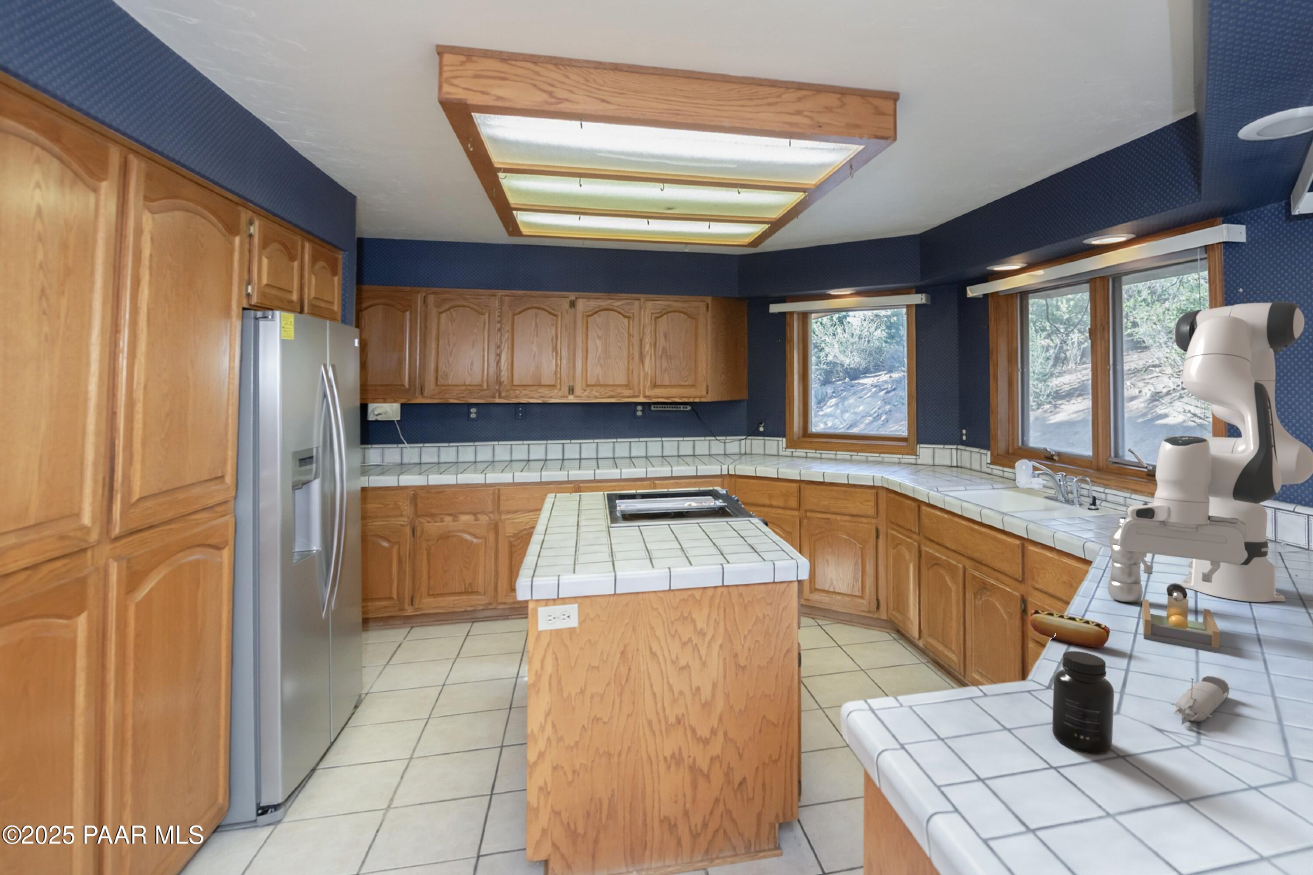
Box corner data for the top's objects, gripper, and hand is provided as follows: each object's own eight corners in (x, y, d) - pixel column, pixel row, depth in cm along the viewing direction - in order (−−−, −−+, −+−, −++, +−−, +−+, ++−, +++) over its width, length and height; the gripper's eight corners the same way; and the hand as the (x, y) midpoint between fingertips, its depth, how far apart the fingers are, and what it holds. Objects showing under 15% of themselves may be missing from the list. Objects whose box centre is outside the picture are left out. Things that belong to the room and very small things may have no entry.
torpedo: (1197, 689, 99) (1199, 650, 98) (1236, 701, 95) (1238, 660, 95) (1161, 722, 88) (1163, 679, 88) (1203, 736, 85) (1206, 692, 84)
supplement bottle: (1052, 723, 88) (1055, 643, 87) (1110, 738, 84) (1114, 654, 83) (1050, 745, 82) (1054, 659, 81) (1113, 762, 78) (1117, 672, 77)
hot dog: (1106, 655, 112) (1107, 629, 112) (1025, 635, 122) (1026, 611, 121) (1111, 648, 115) (1112, 622, 115) (1033, 629, 125) (1034, 605, 125)
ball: (1167, 626, 124) (1168, 611, 124) (1187, 629, 122) (1187, 615, 122) (1168, 630, 122) (1169, 615, 121) (1188, 633, 120) (1189, 619, 120)
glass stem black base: (1165, 613, 130) (1166, 582, 129) (1184, 616, 128) (1186, 584, 127) (1166, 621, 125) (1168, 588, 124) (1187, 625, 123) (1189, 591, 123)
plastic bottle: (1148, 606, 139) (1153, 521, 138) (1115, 604, 140) (1119, 520, 139) (1132, 597, 145) (1136, 516, 144) (1101, 595, 147) (1105, 515, 146)
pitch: (1141, 616, 132) (1142, 598, 132) (1208, 628, 126) (1210, 609, 125) (1143, 638, 120) (1144, 619, 119) (1218, 652, 113) (1219, 632, 113)
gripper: (1246, 517, 122) (1242, 583, 123) (1120, 505, 135) (1117, 566, 136) (1251, 521, 117) (1247, 590, 118) (1120, 509, 130) (1116, 571, 131)
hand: (1176, 577), depth 127 cm, fingers open, 8 cm apart
